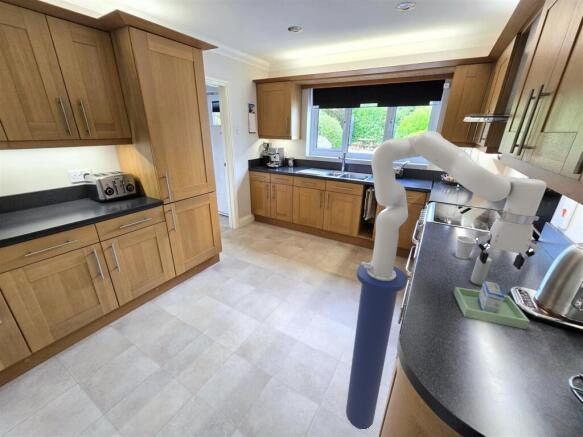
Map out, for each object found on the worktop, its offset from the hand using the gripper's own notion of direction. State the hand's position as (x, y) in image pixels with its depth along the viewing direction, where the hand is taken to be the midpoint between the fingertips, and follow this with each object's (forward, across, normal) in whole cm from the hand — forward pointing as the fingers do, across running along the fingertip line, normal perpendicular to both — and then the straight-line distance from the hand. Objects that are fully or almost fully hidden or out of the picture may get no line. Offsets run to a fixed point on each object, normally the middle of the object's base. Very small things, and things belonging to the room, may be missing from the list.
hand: (499, 264), depth 83 cm
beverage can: (+19, -4, -18) cm, 27 cm away
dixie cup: (+19, -5, -43) cm, 48 cm away
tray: (+18, -1, +1) cm, 18 cm away
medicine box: (+18, -1, +1) cm, 18 cm away
